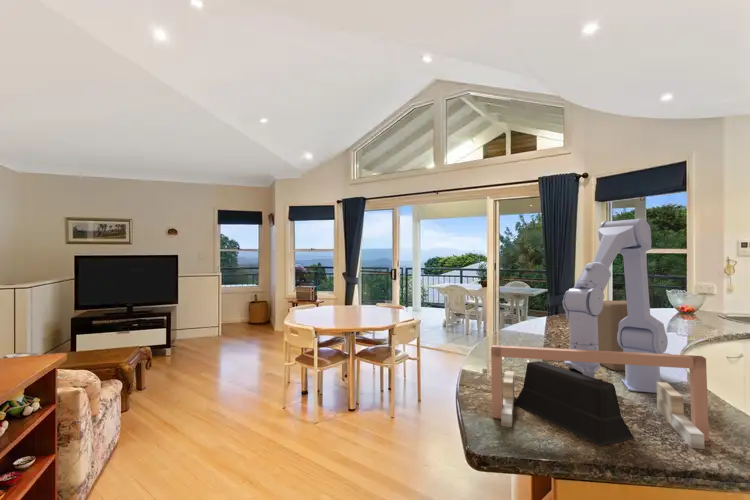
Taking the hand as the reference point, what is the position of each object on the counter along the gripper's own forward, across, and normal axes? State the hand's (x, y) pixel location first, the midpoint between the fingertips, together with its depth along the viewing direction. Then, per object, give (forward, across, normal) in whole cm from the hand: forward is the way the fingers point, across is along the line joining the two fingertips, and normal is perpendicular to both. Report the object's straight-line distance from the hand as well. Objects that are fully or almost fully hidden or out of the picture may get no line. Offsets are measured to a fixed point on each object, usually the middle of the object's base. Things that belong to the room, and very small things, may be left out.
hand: (585, 405), depth 91 cm
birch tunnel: (+1, +4, 0) cm, 4 cm away
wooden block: (+2, -44, +15) cm, 47 cm away
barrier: (+2, +6, -4) cm, 8 cm away
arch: (+1, +9, 0) cm, 9 cm away
